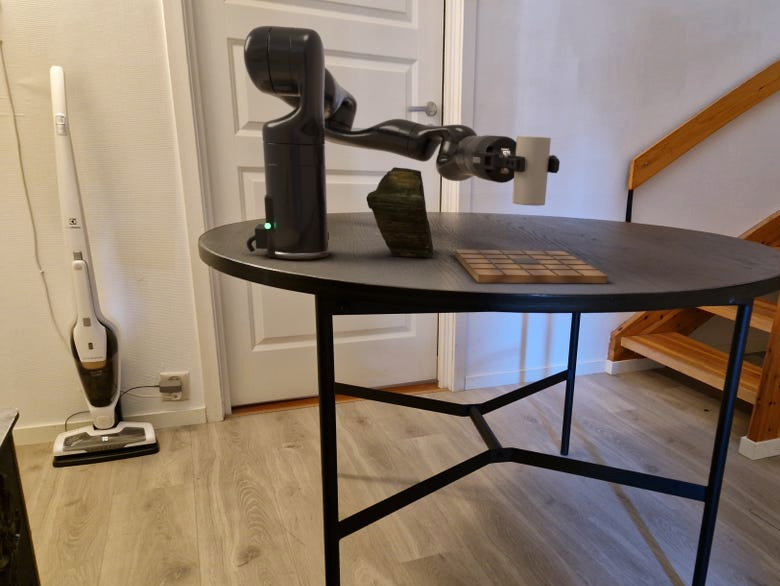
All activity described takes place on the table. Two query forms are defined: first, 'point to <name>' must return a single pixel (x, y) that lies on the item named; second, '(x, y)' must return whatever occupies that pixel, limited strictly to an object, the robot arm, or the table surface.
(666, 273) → the table surface
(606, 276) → the board
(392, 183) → the rock
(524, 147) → the white tin can
